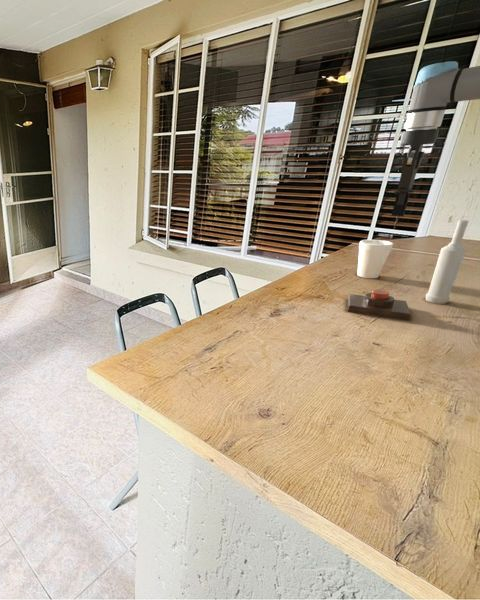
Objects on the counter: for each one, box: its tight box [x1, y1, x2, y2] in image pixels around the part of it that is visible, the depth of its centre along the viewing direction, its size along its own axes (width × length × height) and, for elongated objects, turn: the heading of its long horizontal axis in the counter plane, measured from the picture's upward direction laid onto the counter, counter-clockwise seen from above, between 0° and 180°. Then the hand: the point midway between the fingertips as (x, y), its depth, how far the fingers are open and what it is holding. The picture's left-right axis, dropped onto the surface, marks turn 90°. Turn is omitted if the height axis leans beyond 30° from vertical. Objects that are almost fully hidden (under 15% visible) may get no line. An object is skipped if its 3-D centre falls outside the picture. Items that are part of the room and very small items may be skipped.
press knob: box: [370, 289, 390, 300], centre depth 105 cm, size 4×4×2 cm
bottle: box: [425, 219, 470, 305], centre depth 105 cm, size 5×5×25 cm
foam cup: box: [356, 239, 394, 279], centre depth 131 cm, size 10×9×13 cm
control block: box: [347, 292, 412, 321], centre depth 106 cm, size 14×11×4 cm
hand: (397, 215), depth 105 cm, fingers closed
